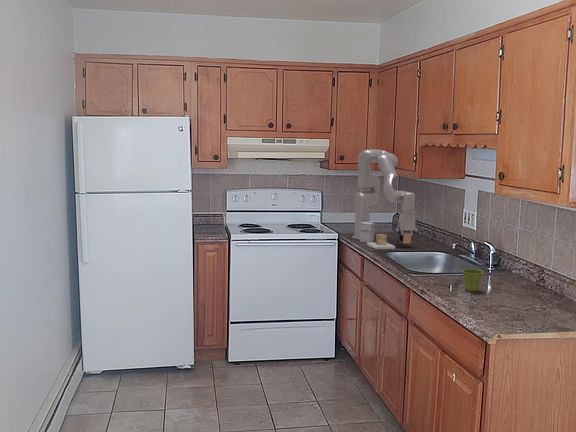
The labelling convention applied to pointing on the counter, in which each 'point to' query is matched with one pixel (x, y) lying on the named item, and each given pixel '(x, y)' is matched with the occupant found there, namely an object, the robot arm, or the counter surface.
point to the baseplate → (381, 246)
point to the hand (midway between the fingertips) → (405, 241)
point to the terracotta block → (406, 237)
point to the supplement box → (367, 232)
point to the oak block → (381, 239)
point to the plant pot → (472, 279)
